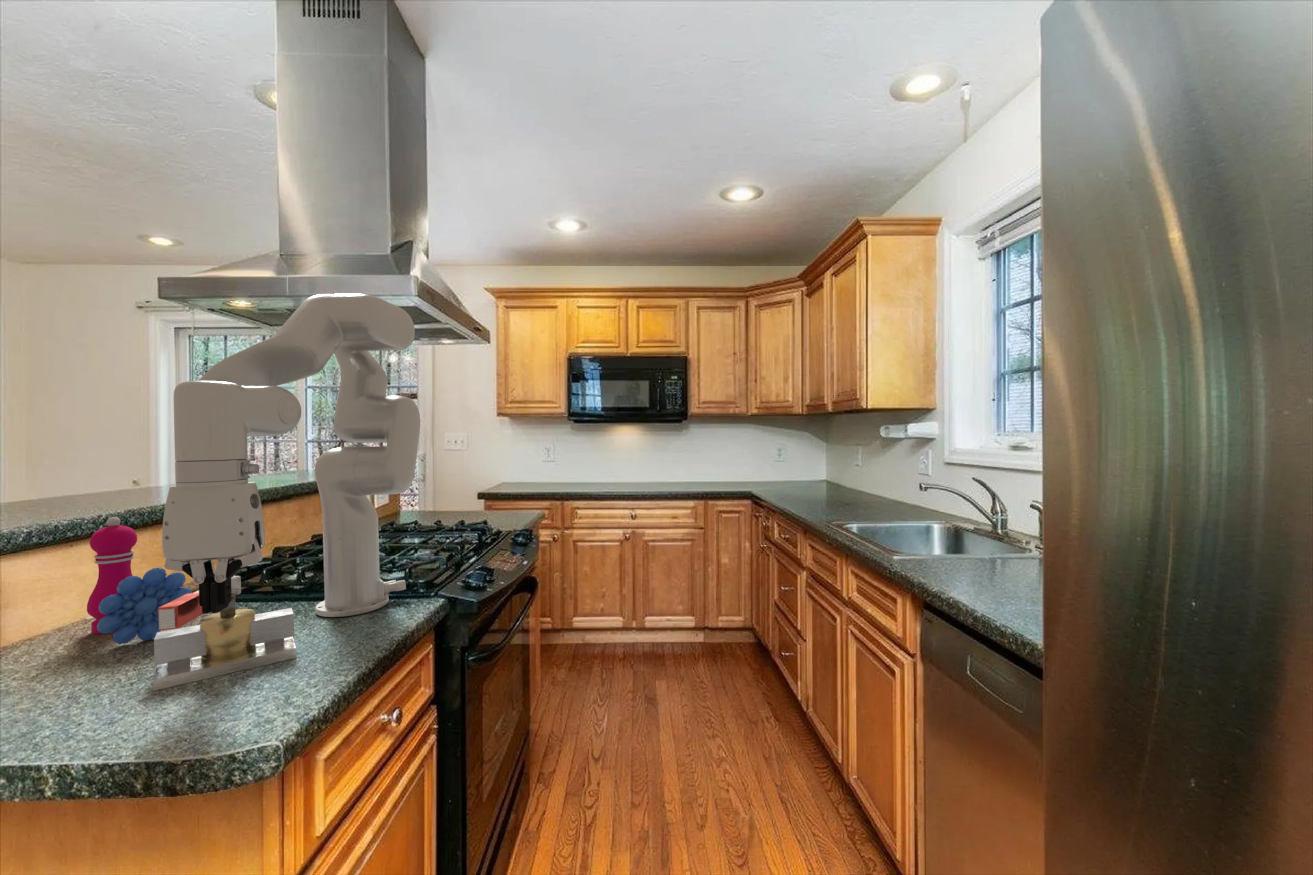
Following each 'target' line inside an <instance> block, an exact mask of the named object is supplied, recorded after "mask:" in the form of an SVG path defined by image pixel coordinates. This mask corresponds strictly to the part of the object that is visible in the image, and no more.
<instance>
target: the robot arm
mask: <svg viewBox="0 0 1313 875" xmlns="http://www.w3.org/2000/svg"><path fill="white" fill-rule="evenodd" d="M415 330H416V328H415V324H414V322H413V319H412V317H411V316H410V314H409V313H408V312H407V311H406V310H405V309H403V308H402V307H400V306H397V305H395V304H393V303H392V302H389V301H388V300H384V299H382V298H380V297H376V296H375V295H370V294H365V293H334V294H332V293H331V294H330V293H326V294H325V293H323V294H322V293H321V294H316V295H312V296H309V297H307V298H306V299H305V300H303V301H302V303H301V304H300V305H299V306H298V307H297V308H296V309H295V310H294V312H292V314H291V315H290V317H289V318H288V319H287V320H286V321H285V322H284V323H283V325H282V326H281V327H280V328H279V329H278V330H277V331H276V332H275V333H274V335H272V336H271V337H269V338H267V339H264V340H262V341H260V342H257V343H255V344H253V345H251V346H249V347H247V348H244V349H242V350H240V351H238V352H236V353H234V354H231V355H229V356H228V357H225V358H224V359H222V360H220V361H219V362H217V363H216V364H214V365H212V366H211V367H210V368H209V369H208V370H207V371H206V372H205V373H204V374H203V375H202V376H201V377H200V378H199V379H198V380H188V381H182V382H180V383H179V384H178V383H177V385H176V386H175V388H174V390H173V427H174V429H173V430H174V431H173V434H174V435H173V440H174V473H175V476H174V477H175V479H174V480H175V482H174V483H175V485H171V486H169V490H168V493H167V496H166V502H165V506H164V511H163V512H164V513H163V518H162V531H161V547H162V554H163V557H164V558H165V562H164V569H165V570H169V571H177V572H184V573H185V574H187V575H188V576H189V577H190V578H192V579H193V582H194V583H195V584H196V585H198V590H199V604H200V606H202V613H203V614H202V615H207V614H210V613H212V614H215V613H219V612H220V611H221V610H223V609H225V608H227V607H228V605H229V603H230V602H231V599H232V593H231V578H232V577H233V576H236V574H237V573H239V571H241V569H242V568H245V567H249V566H253V565H255V564H257V563H259V562H262V561H263V554H262V551H261V549H263V548H264V547H265V544H266V534H265V533H266V530H265V521H264V513H263V508H262V506H263V505H262V501H261V496H260V493H259V489H258V486H257V483H256V481H249V479H250V478H251V476H252V475H257V474H259V472H260V465H259V464H258V463H256V464H255V463H251V462H250V459H249V458H248V456H249V455H248V452H249V451H248V437H273V436H281V435H283V434H287V433H288V432H290V431H292V430H293V429H294V428H296V427H297V426H298V424H299V422H300V421H301V417H302V406H301V403H300V401H299V400H298V397H296V395H294V394H293V392H291V391H290V390H288V389H287V388H284V387H281V386H282V385H286V384H290V383H294V382H298V381H301V380H303V379H306V378H310V377H313V376H314V375H316V374H318V373H320V372H321V371H322V370H324V368H325V367H326V365H327V364H328V362H329V361H330V359H331V358H332V357H333V355H334V356H335V359H336V362H337V363H338V366H339V369H340V385H339V388H338V389H339V390H338V395H337V400H336V406H335V410H334V411H335V412H334V417H333V418H334V419H333V430H334V431H333V432H334V433H335V436H337V438H339V439H340V440H342V441H344V442H348V443H386V446H385V445H384V446H383V445H382V446H380V445H379V446H376V445H375V446H369V445H367V446H366V445H365V446H364V445H363V446H339V447H335V448H330V449H328V450H326V451H324V452H323V453H321V455H320V456H319V457H318V458H317V460H316V462H315V464H314V465H315V466H314V477H315V481H316V486H317V489H318V494H319V497H320V498H319V499H320V503H321V512H322V513H321V518H322V537H323V538H322V545H323V546H322V547H323V549H322V550H323V581H324V582H323V586H324V587H323V588H324V600H323V601H320V602H318V603H317V604H316V605H315V606H314V607H315V609H314V611H315V614H316V615H317V616H320V617H325V618H343V617H351V616H357V615H362V614H367V613H370V612H374V611H376V610H378V609H381V608H383V607H384V606H386V605H387V604H388V603H389V602H390V599H389V594H390V593H391V592H399V591H404V590H406V589H407V583H406V582H407V581H405V579H402V580H397V581H396V579H393V580H388V581H384V580H383V579H381V577H380V574H381V573H380V545H379V544H380V543H379V542H380V540H379V539H380V538H379V537H380V536H379V516H378V512H377V509H376V508H375V506H374V505H373V503H372V502H371V501H370V499H369V498H368V497H367V496H369V495H370V496H379V495H380V496H381V495H385V496H388V495H399V494H402V493H405V492H407V491H408V490H409V489H410V488H411V486H412V483H413V480H414V478H415V472H416V464H417V458H418V457H417V455H418V450H419V449H418V448H419V442H420V434H421V433H420V432H421V416H420V411H419V408H418V405H417V403H416V402H415V401H414V400H413V399H412V398H410V397H408V396H404V395H396V394H395V395H387V390H388V388H387V387H388V375H387V374H386V373H387V372H386V371H385V369H384V368H383V366H382V365H381V364H380V363H379V362H378V360H376V359H375V357H374V356H372V354H371V353H370V352H371V351H372V352H375V351H403V350H405V349H408V348H410V346H411V345H412V344H413V342H414V340H415V336H416V331H415ZM214 560H217V561H216V566H215V564H214Z"/></svg>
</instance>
